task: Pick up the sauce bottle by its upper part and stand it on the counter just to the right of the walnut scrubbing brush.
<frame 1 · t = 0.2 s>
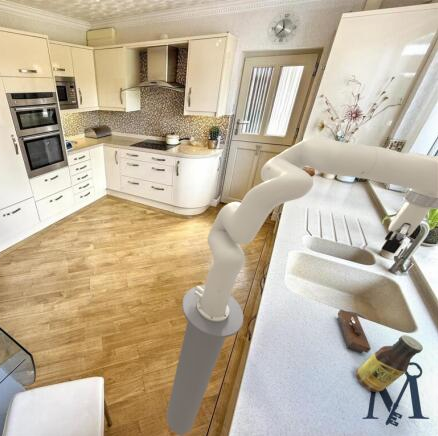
hand: (389, 245, 77), 30 cm above the worktop, tool pointing down, fingers open, 9 cm apart
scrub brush: (348, 335, 82), on the worktop
sauce bottle: (367, 382, 69), on the worktop
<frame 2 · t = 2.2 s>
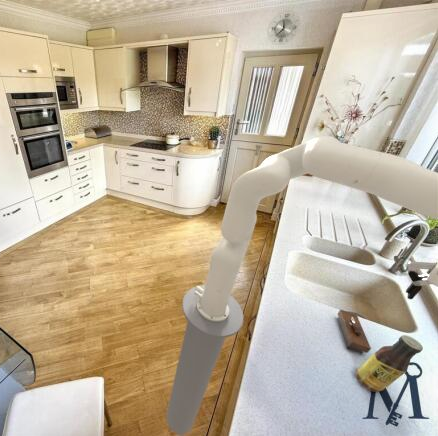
hand: (437, 308, 54), 31 cm above the worktop, tool pointing down, fingers open, 9 cm apart
nothing on the worktop moved.
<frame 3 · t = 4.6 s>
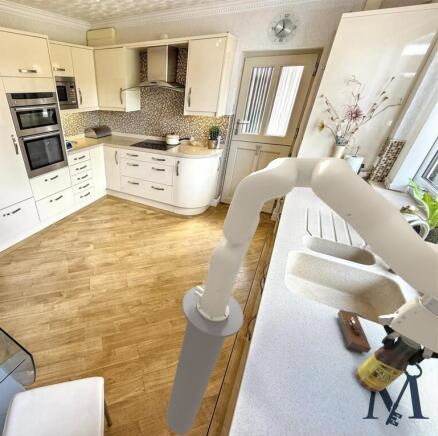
hand: (397, 353, 61), 15 cm above the worktop, tool pointing down, fingers closed on sauce bottle, 4 cm apart
sauce bottle: (367, 382, 69), on the worktop, touching gripper
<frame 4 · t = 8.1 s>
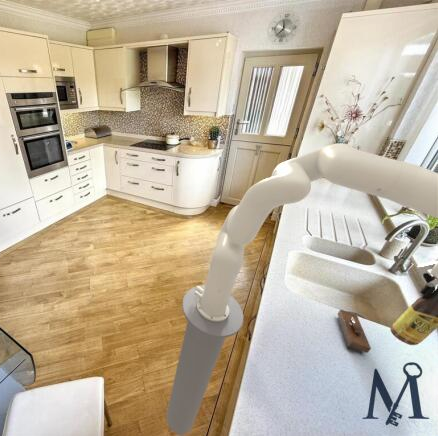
hand: (437, 301, 61), 27 cm above the worktop, tool pointing down, fingers closed on sauce bottle, 4 cm apart
sauce bottle: (403, 337, 68), point 12 cm above the worktop, touching gripper
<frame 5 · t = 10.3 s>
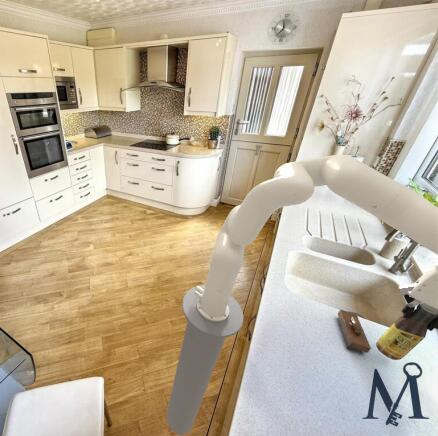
hand: (417, 320, 66), 19 cm above the worktop, tool pointing down, fingers closed on sauce bottle, 4 cm apart
sauce bottle: (387, 352, 73), point 4 cm above the worktop, touching gripper
when the fingers open (15 cm above the worktop, at t = 11.8 s): sauce bottle stays where it is, on the worktop.
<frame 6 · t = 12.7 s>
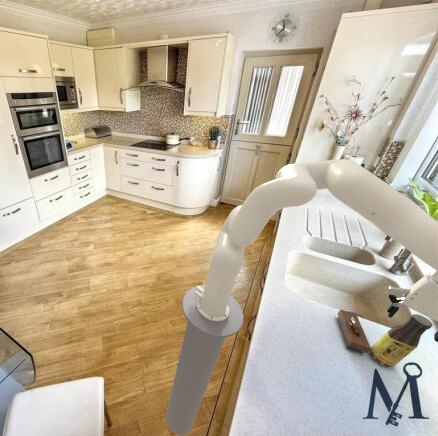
hand: (411, 326, 67), 17 cm above the worktop, tool pointing down, fingers open, 9 cm apart
sauce bottle: (380, 359, 75), on the worktop
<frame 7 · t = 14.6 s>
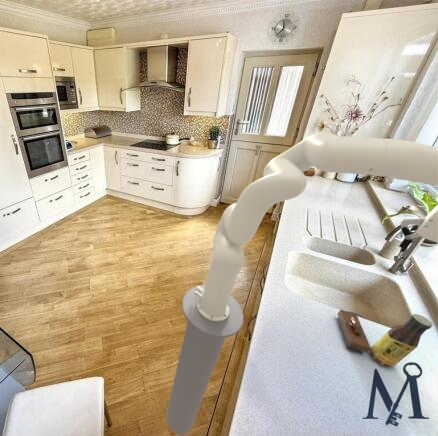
hand: (425, 259, 64), 35 cm above the worktop, tool pointing down, fingers open, 9 cm apart
nothing on the worktop moved.
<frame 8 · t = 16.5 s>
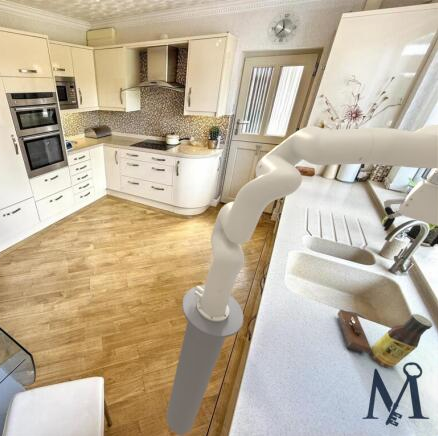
hand: (407, 236, 68), 38 cm above the worktop, tool pointing down, fingers open, 9 cm apart
nothing on the worktop moved.
at the end: sauce bottle inside the target area (0.3 cm from its centre), on the worktop; sauce bottle 9.3 cm from the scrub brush (horizontally); sauce bottle tilted 0° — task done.
